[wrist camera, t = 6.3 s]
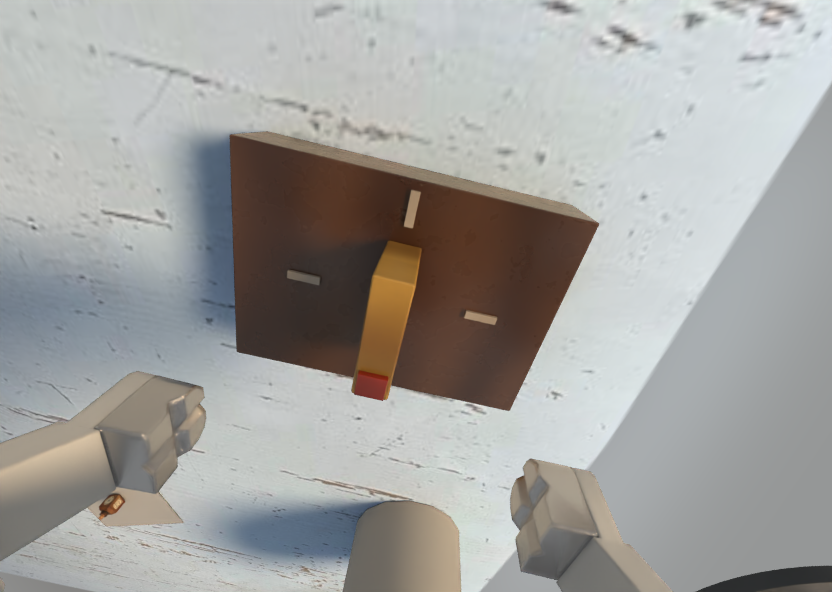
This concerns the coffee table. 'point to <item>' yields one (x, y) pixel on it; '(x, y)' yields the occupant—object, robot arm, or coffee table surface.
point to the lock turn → (385, 319)
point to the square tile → (133, 509)
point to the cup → (404, 550)
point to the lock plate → (360, 253)
